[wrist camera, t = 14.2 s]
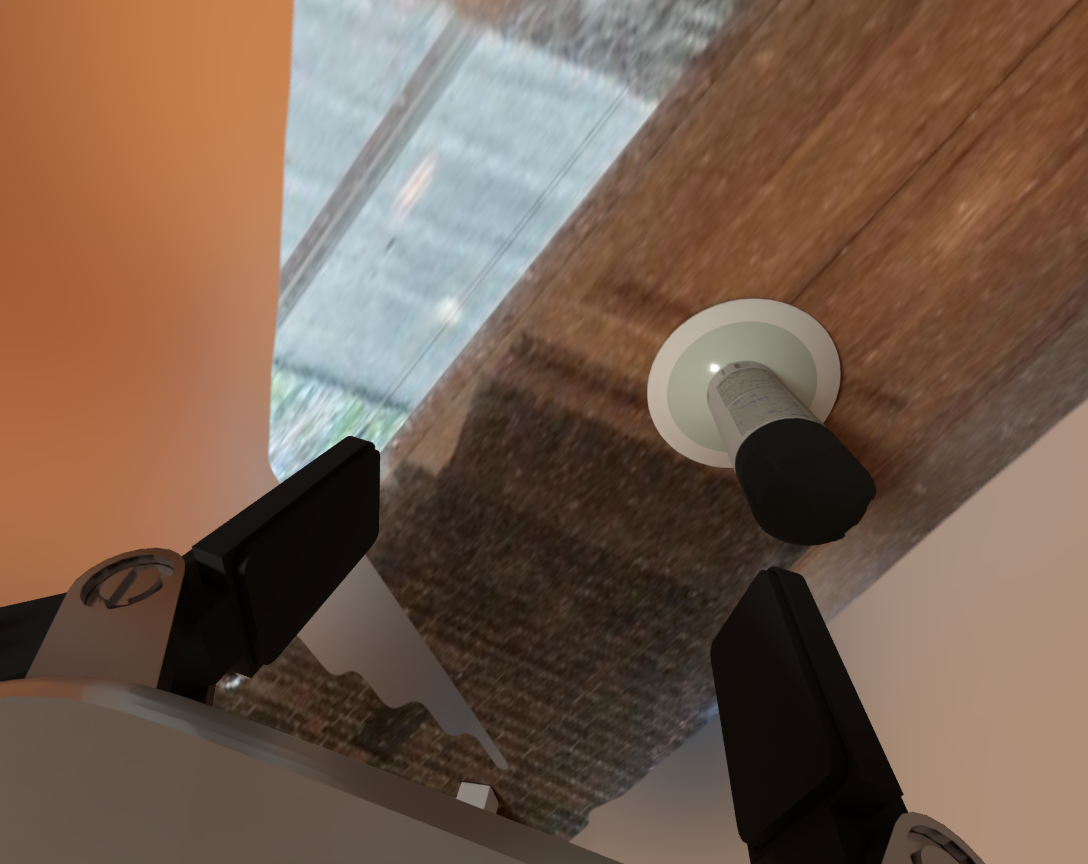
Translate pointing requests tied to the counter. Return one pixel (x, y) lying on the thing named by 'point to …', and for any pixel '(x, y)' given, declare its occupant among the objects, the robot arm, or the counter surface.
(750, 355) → the dish
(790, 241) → the counter surface
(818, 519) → the spray can
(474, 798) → the milk carton
